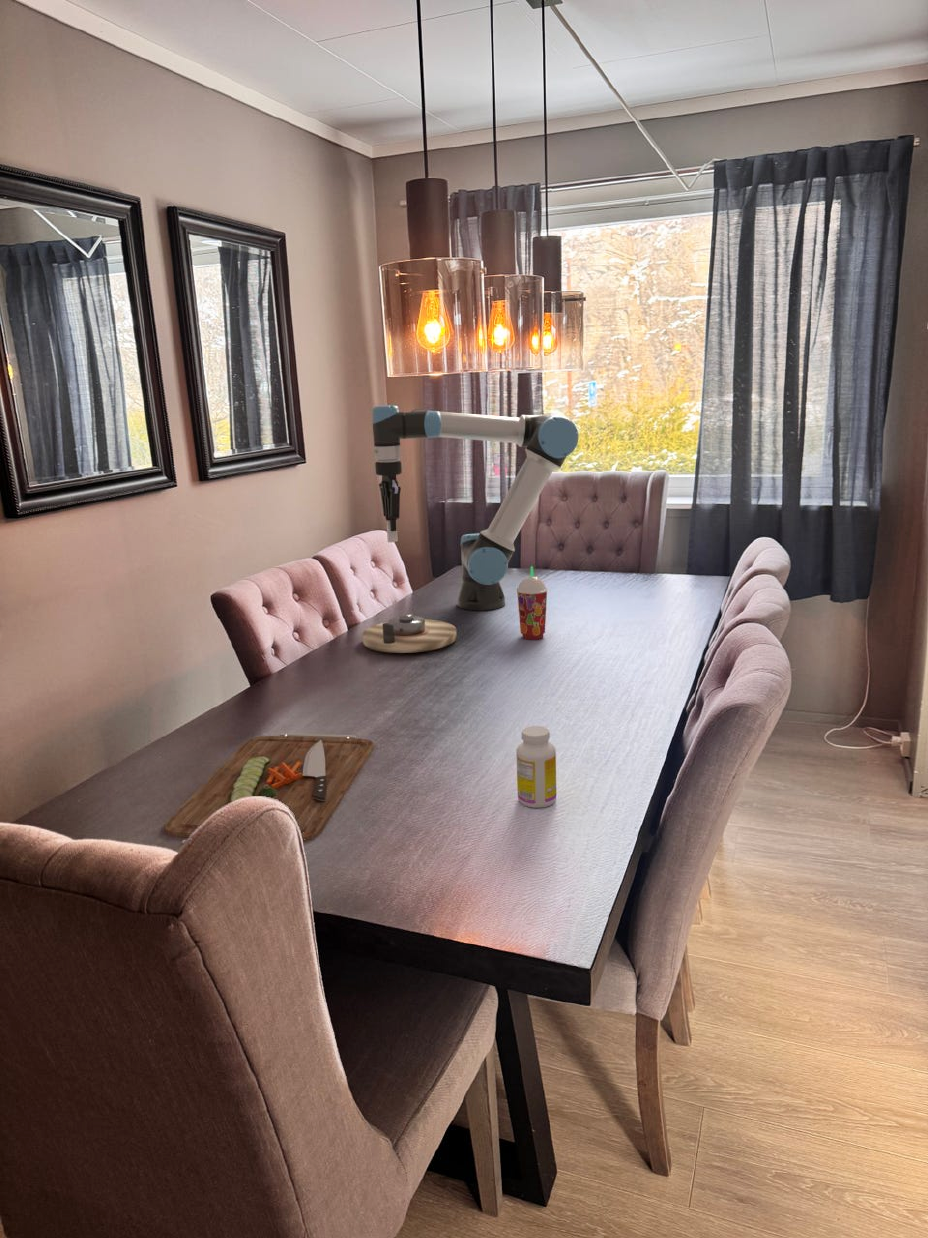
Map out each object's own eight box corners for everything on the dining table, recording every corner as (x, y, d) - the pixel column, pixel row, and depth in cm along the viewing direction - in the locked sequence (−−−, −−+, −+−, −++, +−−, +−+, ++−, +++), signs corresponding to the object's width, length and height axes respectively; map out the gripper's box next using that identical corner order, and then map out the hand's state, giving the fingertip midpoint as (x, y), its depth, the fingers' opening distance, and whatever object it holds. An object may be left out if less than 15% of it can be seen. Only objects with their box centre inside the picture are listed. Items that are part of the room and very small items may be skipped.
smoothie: (548, 632, 251) (547, 563, 246) (547, 641, 243) (547, 569, 238) (518, 632, 252) (517, 563, 247) (517, 641, 244) (515, 570, 239)
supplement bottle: (553, 790, 156) (553, 722, 153) (558, 808, 150) (558, 737, 146) (515, 792, 156) (514, 724, 153) (519, 810, 150) (517, 739, 146)
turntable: (394, 622, 263) (393, 599, 261) (472, 630, 251) (472, 607, 250) (344, 646, 241) (342, 621, 239) (427, 657, 229) (425, 631, 228)
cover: (400, 624, 253) (400, 609, 251) (431, 628, 248) (430, 612, 247) (382, 634, 244) (381, 618, 243) (413, 637, 240) (412, 621, 238)
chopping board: (256, 736, 187) (255, 722, 186) (380, 740, 182) (380, 726, 181) (150, 845, 144) (148, 828, 143) (309, 854, 139) (308, 836, 139)
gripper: (368, 459, 260) (374, 539, 267) (382, 463, 249) (387, 546, 255) (393, 458, 263) (397, 537, 269) (407, 461, 251) (412, 543, 258)
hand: (392, 541), depth 262 cm, fingers closed
